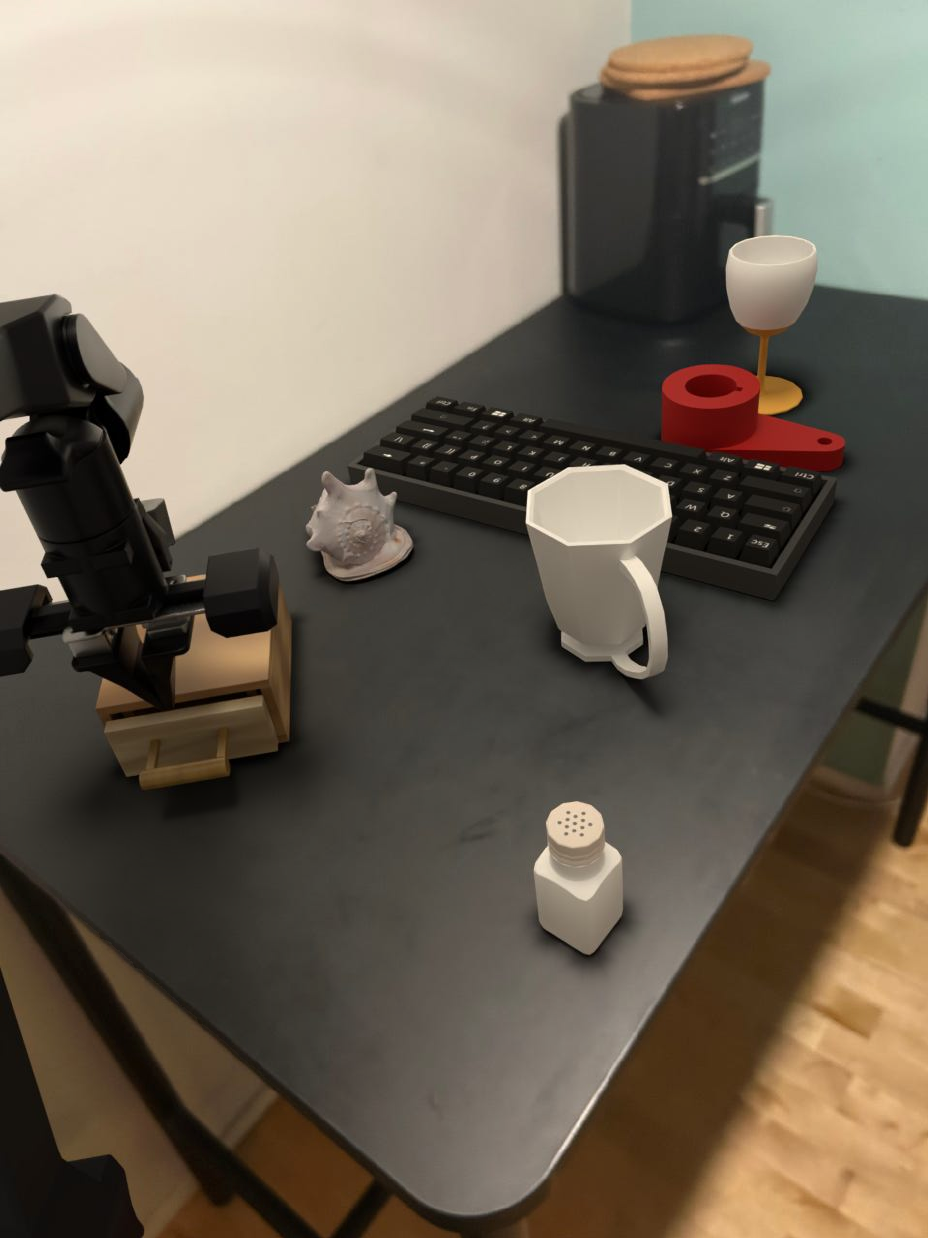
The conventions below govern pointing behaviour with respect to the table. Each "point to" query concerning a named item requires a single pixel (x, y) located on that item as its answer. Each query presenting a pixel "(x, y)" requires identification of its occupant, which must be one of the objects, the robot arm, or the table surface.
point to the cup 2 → (771, 301)
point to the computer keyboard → (539, 449)
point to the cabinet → (222, 670)
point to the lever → (739, 421)
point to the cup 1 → (603, 561)
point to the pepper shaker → (578, 878)
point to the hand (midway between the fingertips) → (168, 705)
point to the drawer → (191, 738)
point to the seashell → (356, 529)
